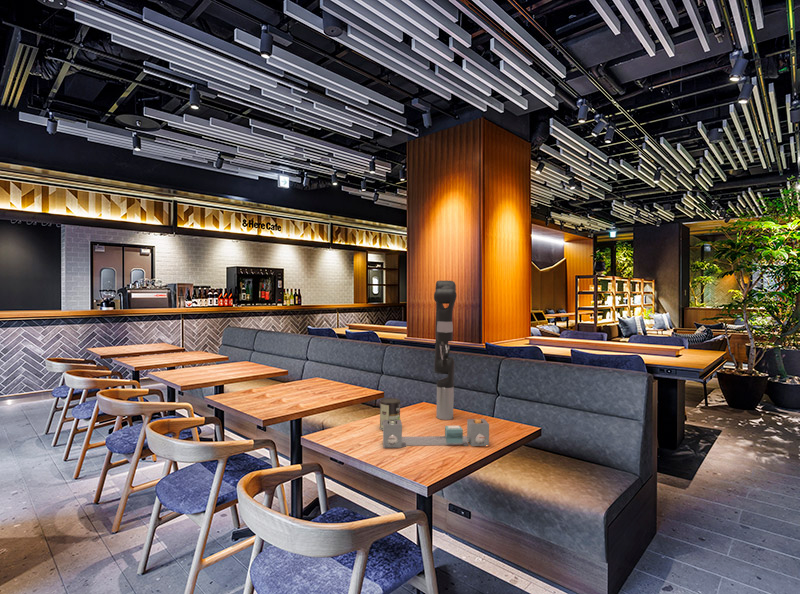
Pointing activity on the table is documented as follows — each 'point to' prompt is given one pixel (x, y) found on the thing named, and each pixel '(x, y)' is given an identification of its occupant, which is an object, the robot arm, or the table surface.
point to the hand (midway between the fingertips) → (444, 367)
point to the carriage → (454, 434)
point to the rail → (430, 441)
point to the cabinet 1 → (392, 434)
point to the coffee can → (389, 410)
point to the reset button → (477, 420)
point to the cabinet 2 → (478, 432)
